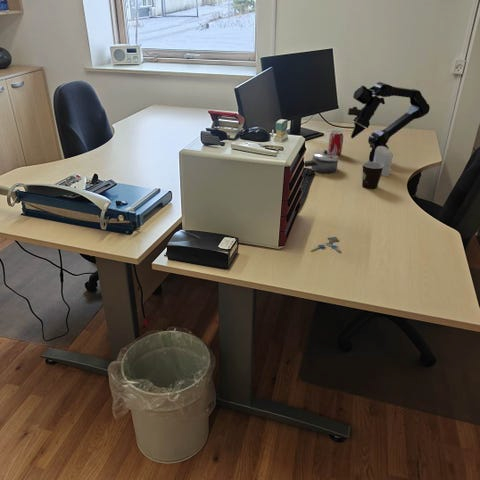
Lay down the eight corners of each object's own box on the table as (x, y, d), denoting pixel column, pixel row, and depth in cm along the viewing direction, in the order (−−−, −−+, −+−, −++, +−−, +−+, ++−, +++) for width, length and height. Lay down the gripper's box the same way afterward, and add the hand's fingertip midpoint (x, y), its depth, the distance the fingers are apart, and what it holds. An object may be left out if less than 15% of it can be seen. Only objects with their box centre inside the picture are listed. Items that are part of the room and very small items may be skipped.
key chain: (330, 236, 155) (331, 234, 155) (352, 244, 150) (352, 241, 150) (310, 252, 145) (310, 249, 145) (332, 260, 141) (332, 258, 141)
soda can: (337, 157, 228) (340, 134, 222) (325, 155, 232) (327, 132, 226) (343, 154, 233) (346, 131, 227) (331, 151, 237) (333, 129, 231)
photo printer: (390, 175, 207) (395, 150, 200) (382, 176, 205) (387, 150, 199) (378, 168, 215) (382, 143, 209) (370, 169, 214) (374, 144, 208)
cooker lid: (329, 153, 217) (330, 149, 216) (343, 161, 208) (344, 156, 207) (308, 154, 213) (309, 149, 211) (321, 161, 203) (322, 156, 202)
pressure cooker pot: (327, 163, 220) (328, 154, 217) (341, 171, 210) (342, 161, 208) (295, 168, 213) (296, 158, 211) (308, 176, 204) (309, 166, 201)
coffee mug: (380, 191, 190) (384, 169, 185) (359, 189, 192) (363, 167, 187) (378, 181, 200) (382, 160, 195) (358, 179, 201) (362, 158, 197)
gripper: (353, 100, 218) (336, 128, 223) (356, 99, 200) (338, 130, 205) (373, 111, 218) (355, 139, 223) (378, 111, 200) (358, 142, 205)
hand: (351, 137), depth 214 cm, fingers closed
